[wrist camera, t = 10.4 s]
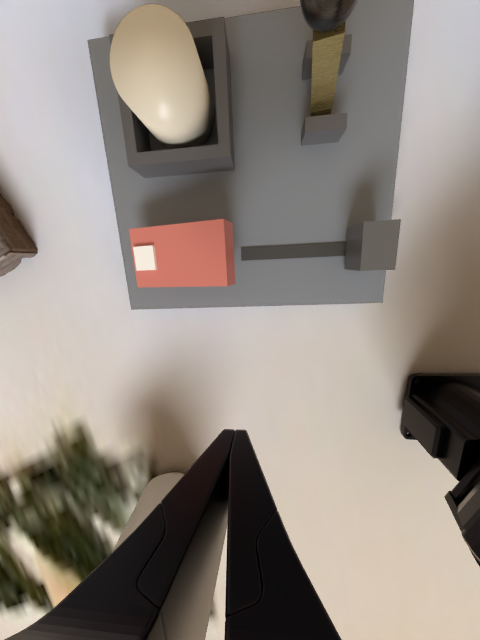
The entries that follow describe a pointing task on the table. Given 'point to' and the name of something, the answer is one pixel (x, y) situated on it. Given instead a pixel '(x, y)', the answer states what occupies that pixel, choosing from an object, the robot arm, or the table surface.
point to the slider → (372, 245)
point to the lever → (325, 48)
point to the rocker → (184, 254)
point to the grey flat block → (12, 240)
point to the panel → (269, 156)
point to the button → (162, 76)
